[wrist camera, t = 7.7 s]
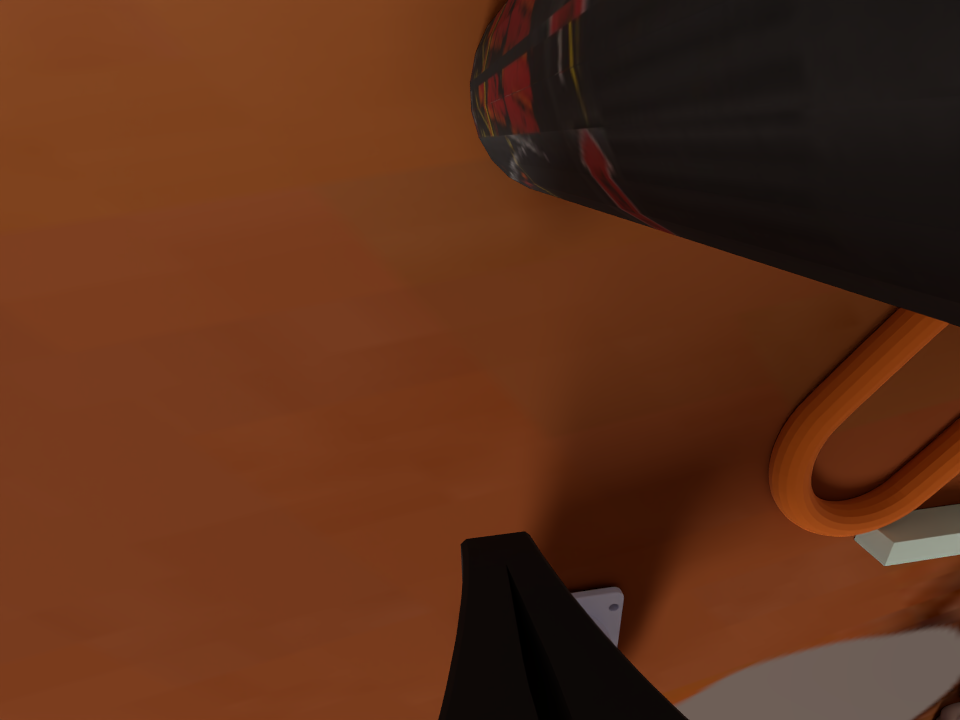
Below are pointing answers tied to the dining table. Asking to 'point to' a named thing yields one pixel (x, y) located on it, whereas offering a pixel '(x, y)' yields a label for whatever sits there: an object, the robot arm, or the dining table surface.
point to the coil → (950, 712)
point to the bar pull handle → (916, 536)
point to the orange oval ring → (831, 408)
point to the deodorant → (745, 128)
